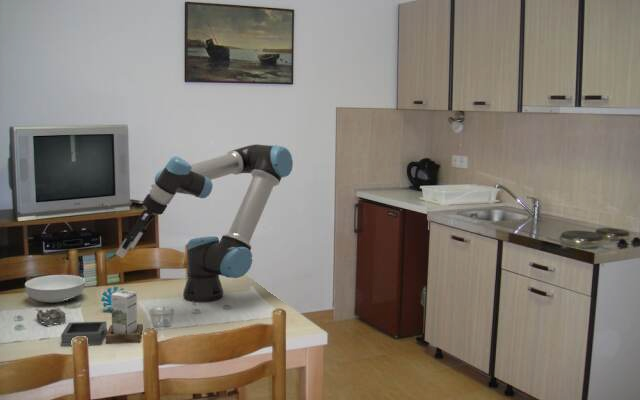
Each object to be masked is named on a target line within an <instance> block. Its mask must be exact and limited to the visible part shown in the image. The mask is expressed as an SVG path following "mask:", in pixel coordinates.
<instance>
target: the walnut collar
mask: <svg viewBox="0 0 640 400" xmlns="http://www.w3.org/2000/svg"><path fill="white" fill-rule="evenodd" d="M107 331H108V332H107V334H106V336H105V344H126V343H127V344H129V343H130V344H131V343H133V344H134V343H140V342H141V341H142V340H141V339H142V337H141V335H142V336H143V333H142V331H143V332H144V325H143V323H137V332H136V333H129V334H112V324H110V325H109V327H108V329H107Z"/></svg>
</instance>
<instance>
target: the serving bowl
mask: <svg viewBox="0 0 640 400" xmlns="http://www.w3.org/2000/svg"><path fill="white" fill-rule="evenodd" d="M85 286H86V279H85V278H84V277H81V276H78V275H73V274H51V275H45V276H39V277H34V278H31V279H29V280H27V281H26V282H25V283H24V288H25V291H26V293H27V296H29V298H31V299H33V300H35V301H39V302H43V303H49V304H55V303H57V304H58V303H62V302H65V301H64V299H67V298H70V297H73V296H76V295H78V296H80V295H81V294H82V292H83V291H84V289H85Z"/></svg>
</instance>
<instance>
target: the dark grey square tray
mask: <svg viewBox="0 0 640 400" xmlns="http://www.w3.org/2000/svg"><path fill="white" fill-rule="evenodd" d="M107 325H108V324H107V320H106V321H81V322H80V321H79V322H73V321H72V322H68V323H67V325H66V326H65V328H64V330H63V331H62V332H61V335H60V336H61V337H60V339H61V342H60V347H72V346H71V340H72V338H74V337H76V336H86V337H87V338H88V344H89V345H88V346H102V345H103V343H104V341H105V340H106V334H107V332H108V327H107Z"/></svg>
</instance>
